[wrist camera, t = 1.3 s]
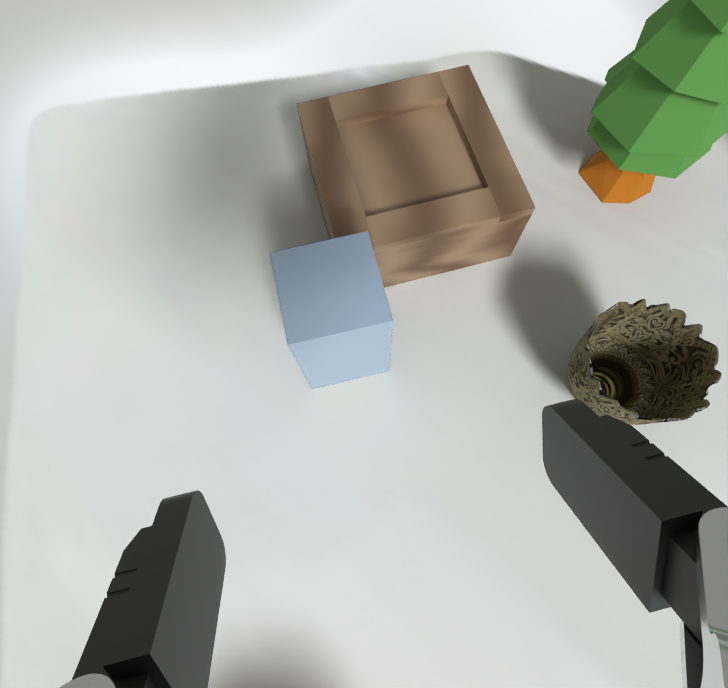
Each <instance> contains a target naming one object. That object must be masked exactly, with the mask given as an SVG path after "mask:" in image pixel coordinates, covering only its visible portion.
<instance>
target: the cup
mask: <svg viewBox="0 0 728 688" xmlns="http://www.w3.org/2000/svg"><path fill="white" fill-rule="evenodd" d="M685 320H686V314H685V313H684V312H683V311H682V310H678V309H672V310H670V305H669V304H667V303H666V304H660V305H650V306H649V307H646V300H645V299H642V300H639V301H637V302H635V303H634V304H628V302H619V303H617V304H615V305H614V306H612V307H611V308H609V309H608V310H607V311H605V312H604V313H601V314H600V315H599V317H598V318H597V319H596V321H595V322H594V324H593V325H592V326H591V327H590V329H589V330H588V331H587V333H586V334H585V335H584V336H583V338H582V339H581V341H580V342H579V343H578V345H577V346H576V348H575V350H574V352H573V354H572V356H571V359H570V362H569V366H568V380H569V385H570V388H571V391H572V393H573V395H574V397H575V398H576V399H579V400H581V401H582V402H584V403H585V404H586V405H587V406H588V407H589V408H590V409H591V410H592V411H594V412H595V413H596V414H597V415H598V416H603V415H609V416H612V417H614V418H616V419H618V420H620V421H623V422H625V423H627V424H629V425H638V424H650V423H659V422H669V421H679V420H685V419H688V418H690V417H691V416H692V415H693V414H694V413H695V412H698V411H701V410H703V409H705V408H707V407H708V406H709V405H710V402H709V401H708V400H705V399H703V398H704V397H705V396H707V395H708V391H707V390H708V387H709V386H711V385H712V384H714V383H718V382H719V380H720V378H721V372H720V371H717V370H715V366H716V365H717V363H718V348H717V347H716V346H715V345H714V344H712V343H710V342H708V341H705V340H703V339H702V338H700V336H699V335H700V334H701V333H702V330H703V329H702V327H703V326H702V325H701V324H694V325H686V326H685V325H683V324H684V323H685ZM684 326H685V327H684ZM701 335H702V334H701ZM600 381H601V382H602V383H603V385H604V386H605V389H606V394H603V393H602V388H601V386H600Z"/></svg>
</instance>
